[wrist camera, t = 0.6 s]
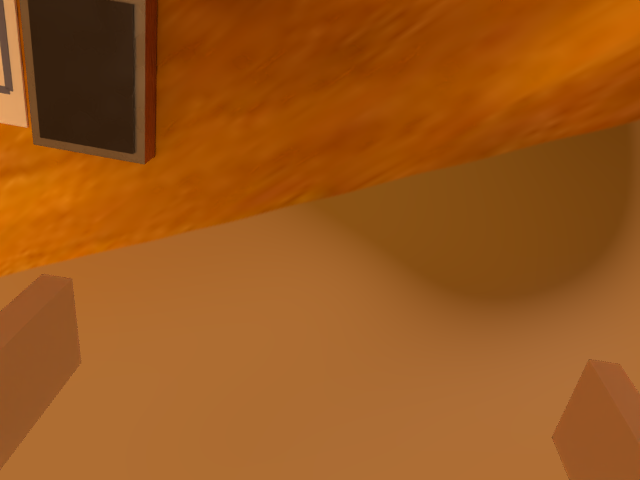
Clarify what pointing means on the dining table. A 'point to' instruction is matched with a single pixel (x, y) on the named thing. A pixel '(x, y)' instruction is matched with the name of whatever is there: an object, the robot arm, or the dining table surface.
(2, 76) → the print card
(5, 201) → the dining table surface
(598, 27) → the dining table surface
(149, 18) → the ink pad
